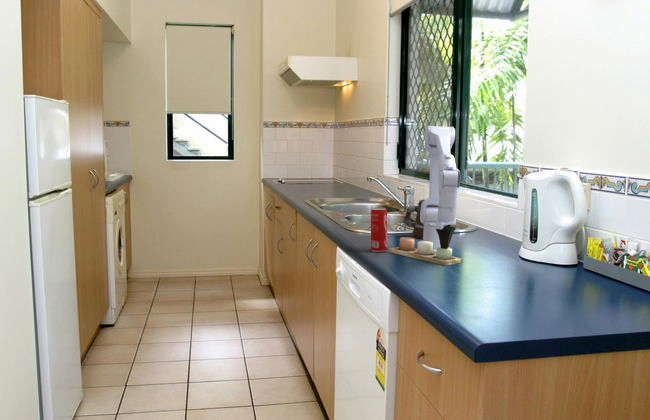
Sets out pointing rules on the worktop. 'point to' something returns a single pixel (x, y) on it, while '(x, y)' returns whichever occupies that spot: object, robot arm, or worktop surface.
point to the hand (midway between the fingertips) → (444, 248)
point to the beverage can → (378, 229)
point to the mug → (418, 224)
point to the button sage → (444, 253)
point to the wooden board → (425, 256)
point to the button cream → (425, 247)
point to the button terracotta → (407, 243)
